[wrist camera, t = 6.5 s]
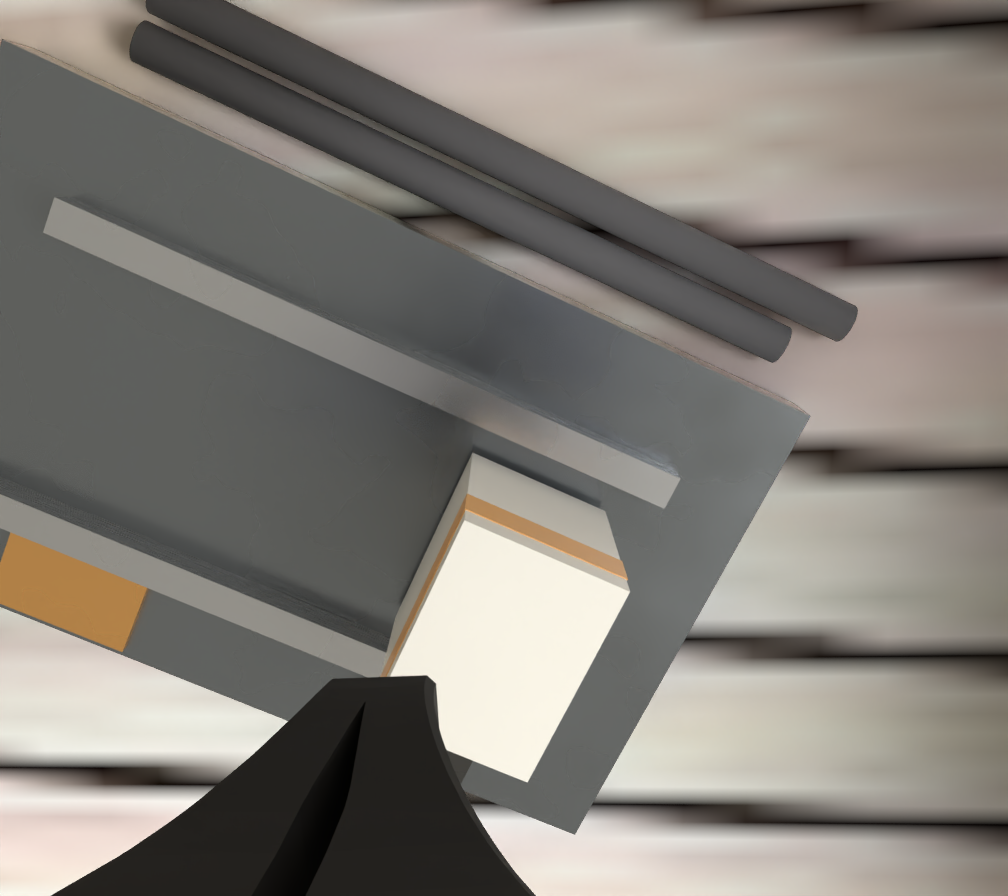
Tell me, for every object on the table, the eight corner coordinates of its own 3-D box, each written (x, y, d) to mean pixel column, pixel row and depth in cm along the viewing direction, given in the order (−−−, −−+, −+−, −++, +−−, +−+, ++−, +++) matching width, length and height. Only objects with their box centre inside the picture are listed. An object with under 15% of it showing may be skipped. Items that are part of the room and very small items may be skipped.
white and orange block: (606, 511, 19) (631, 590, 16) (523, 671, 20) (527, 783, 17) (471, 451, 19) (463, 519, 15) (394, 617, 20) (368, 719, 16)
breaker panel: (793, 402, 20) (821, 424, 19) (571, 801, 23) (576, 855, 21) (33, 48, 18) (-19, 33, 17) (-112, 528, 21) (-170, 560, 19)
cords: (848, 303, 20) (862, 308, 19) (807, 377, 20) (819, 385, 19) (170, -25, 18) (155, -34, 17) (141, 64, 19) (125, 59, 18)
